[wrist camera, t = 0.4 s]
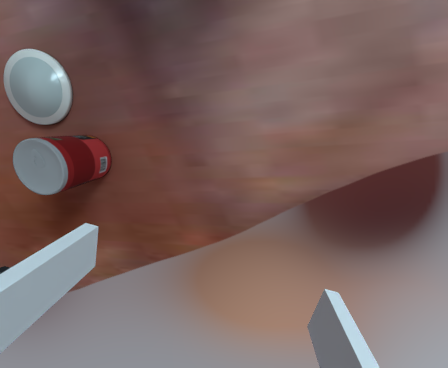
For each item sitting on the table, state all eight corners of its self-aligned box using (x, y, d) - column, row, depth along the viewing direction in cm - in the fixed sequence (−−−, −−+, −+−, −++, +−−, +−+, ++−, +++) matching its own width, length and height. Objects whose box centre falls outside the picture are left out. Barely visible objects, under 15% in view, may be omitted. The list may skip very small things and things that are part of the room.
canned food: (97, 127, 38) (39, 127, 28) (121, 167, 40) (75, 181, 29) (65, 146, 40) (0, 154, 29) (90, 184, 41) (36, 203, 31)
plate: (2, 47, 36) (-3, 45, 35) (69, 53, 35) (64, 51, 34) (14, 121, 39) (9, 121, 39) (75, 127, 39) (71, 127, 38)
